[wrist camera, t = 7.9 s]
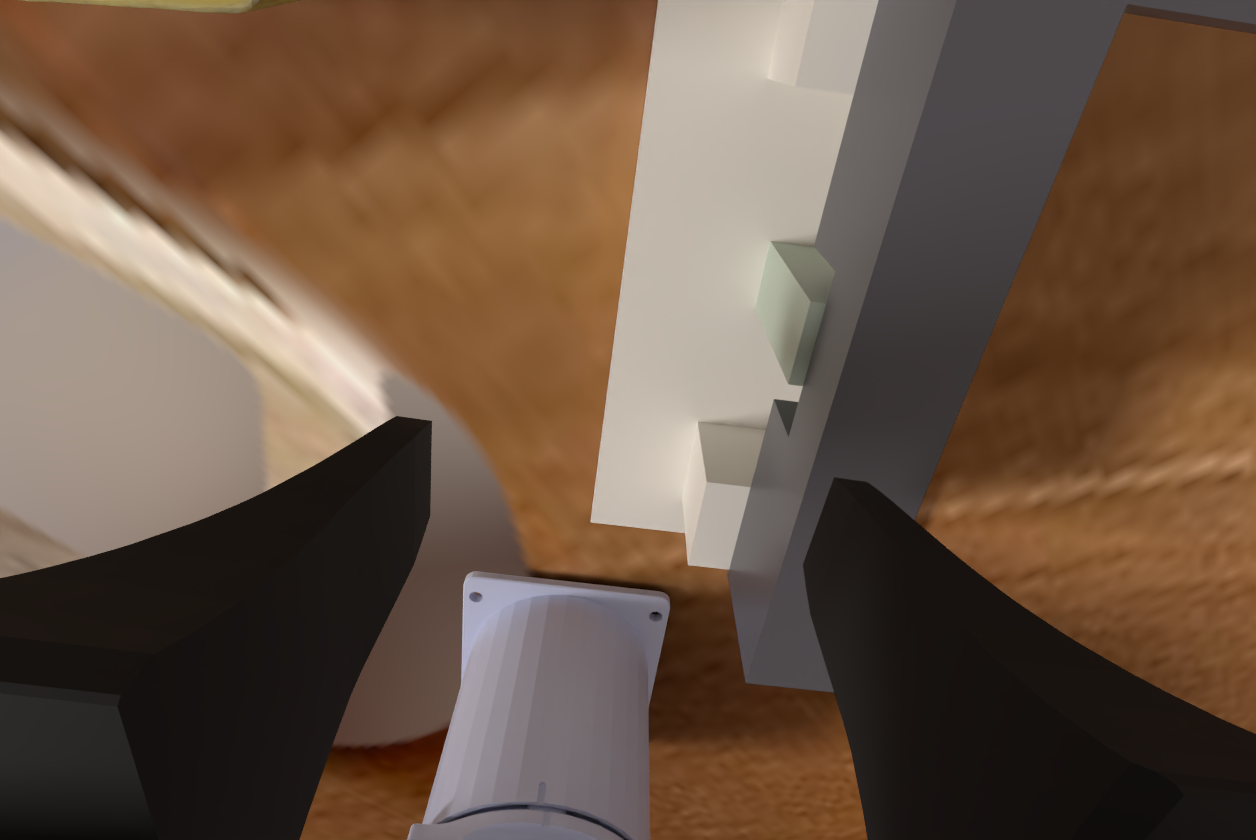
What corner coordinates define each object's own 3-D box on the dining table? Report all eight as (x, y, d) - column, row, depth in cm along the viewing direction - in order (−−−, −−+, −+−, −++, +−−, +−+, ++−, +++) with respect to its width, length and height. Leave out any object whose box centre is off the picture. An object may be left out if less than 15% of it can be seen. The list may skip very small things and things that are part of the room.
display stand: (885, 539, 26) (952, 673, 20) (592, 505, 25) (578, 633, 20) (1129, -81, 17) (1369, -143, 11) (678, -155, 16) (697, -259, 11)
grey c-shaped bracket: (999, 605, 21) (1071, 717, 18) (727, 574, 21) (745, 682, 17) (1316, 2, 13) (1555, -14, 10) (895, -66, 13) (990, -107, 10)
